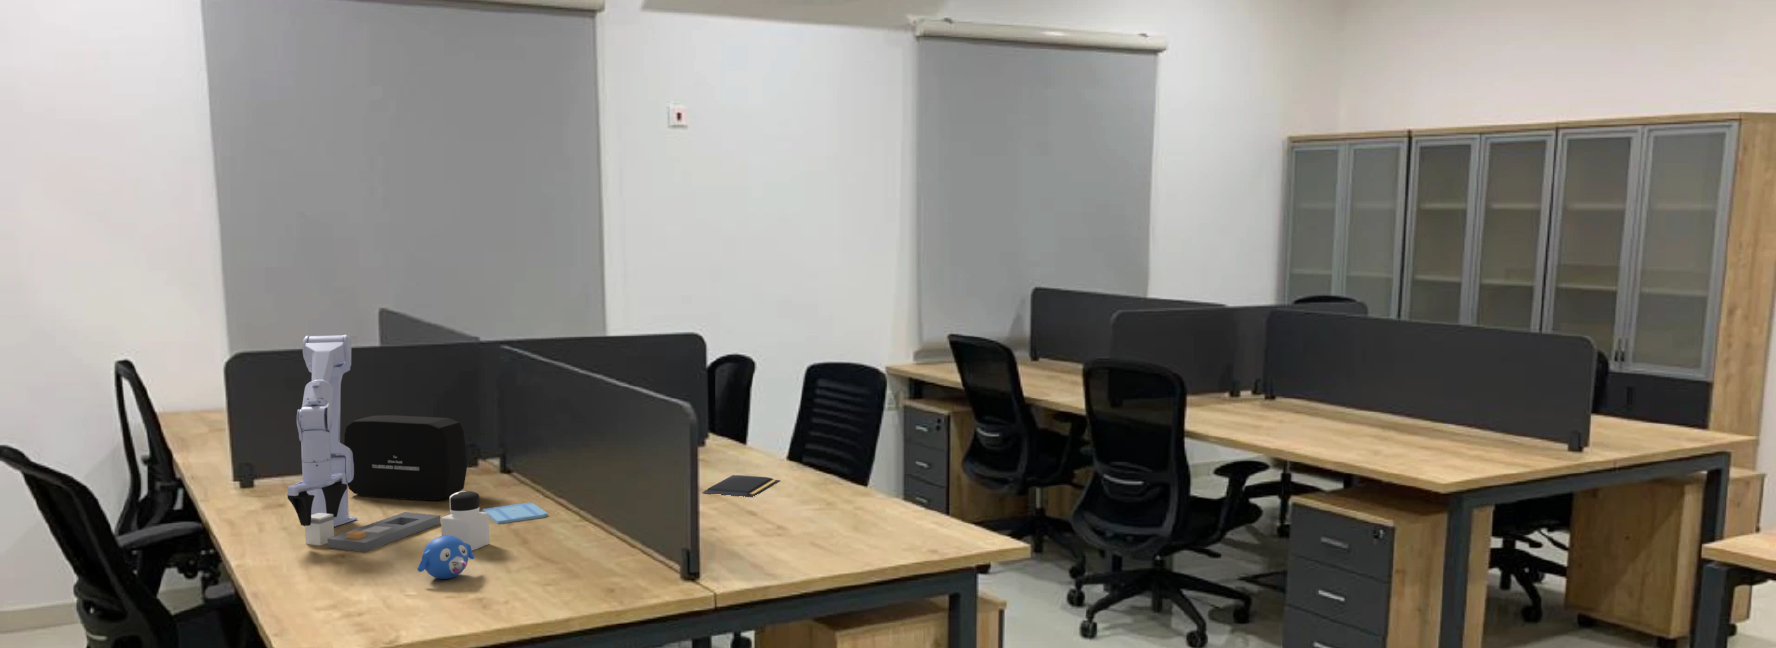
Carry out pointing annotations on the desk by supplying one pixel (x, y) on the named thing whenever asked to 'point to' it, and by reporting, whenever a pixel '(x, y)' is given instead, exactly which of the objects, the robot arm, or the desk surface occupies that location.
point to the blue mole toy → (445, 557)
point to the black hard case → (407, 457)
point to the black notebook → (741, 486)
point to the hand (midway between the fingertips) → (319, 521)
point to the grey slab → (383, 531)
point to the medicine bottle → (466, 520)
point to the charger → (320, 529)
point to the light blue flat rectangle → (515, 513)
